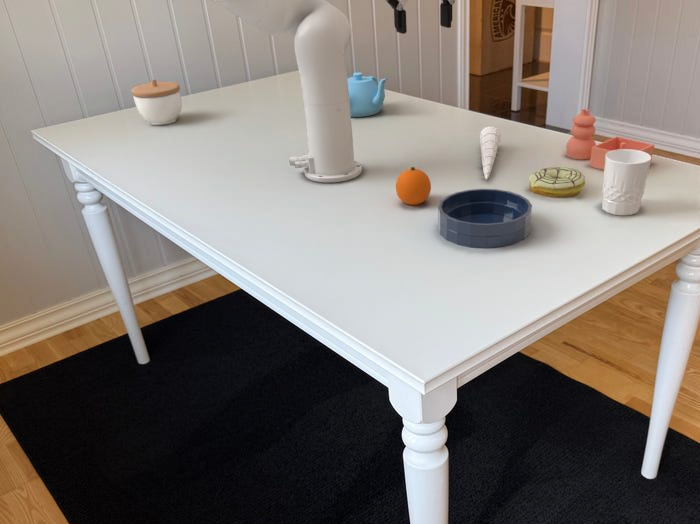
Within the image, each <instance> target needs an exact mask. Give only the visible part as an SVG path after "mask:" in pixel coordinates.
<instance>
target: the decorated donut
mask: <svg viewBox="0 0 700 524" xmlns="http://www.w3.org/2000/svg"><path fill="white" fill-rule="evenodd" d="M528 179H529V189H530V190H531V192H532V193H534V194H537V195H541V196H544V197H549V198H558V199H561V198H570V197H576V196H578V195H579V194H580V193H581V192H582V190H584V187H585V184H586V176H585V174H584V173H583V172H581V171H580V170H579V169H575V168H573V167H562V166H561V167H560V166H551V167H545V168H541V169H539V170H537V171H535V172H533V173H532V174H530V176H529V178H528Z"/></svg>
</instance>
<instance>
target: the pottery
mask: <svg viewBox="0 0 700 524" xmlns="http://www.w3.org/2000/svg"><path fill="white" fill-rule="evenodd" d="M596 122H597V120H596V117H595V116H594V115H592V114H590V109H587V108H584V109H581V111H580V113H579V114H576V115H574V117H573V118H572V123H573V125H572V126H571V129H570V134H571V135H572V137H570V139H569V140H568V141H567V142H566V146H565V151H566V156H567V157H568V158H570V159H574V160H589V159H590V161H589V167H591V168H595V169H599V170H603V171H604V168H605V156H606V154H607V153H608V152H610V151H613V150H619V149H632V150H639V151H643V152H646V153H648V154H649V155H650V156H651V162H650V166H651V165H652V163H653V156H652V155H653V154H654V150H655V144H653V143H648V142H645V141H640V140H636V139H630V138H626V137H621V136H618V135H617V136H614V137H612V138H609V139H607V140H604V141H603V142H600V143H597V142H596V140H595V139H594V138H593V136H594V135H595V133H596V127H595V126H594V124H595V123H596Z"/></svg>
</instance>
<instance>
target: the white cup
mask: <svg viewBox="0 0 700 524" xmlns="http://www.w3.org/2000/svg"><path fill="white" fill-rule="evenodd" d="M650 162H651V156H650V155H649V154H648V153H646V152H643V151H639V150H632V149H619V150H613V151H610V152H608V153H607V154H606V156H605V168H604V170H603V180H602V199H601V208H602V210H603V211H604V212H606V213H608V214H611V215H614V216H633V215H635V214H637V213H638V212H639V211H640V208H641V205H642V199H643V196H644V192H645V187H646V184H647V179H648V176H649V172H650V166H651V165H650ZM651 163H652V162H651Z"/></svg>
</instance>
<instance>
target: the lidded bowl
mask: <svg viewBox="0 0 700 524" xmlns="http://www.w3.org/2000/svg"><path fill="white" fill-rule="evenodd" d="M150 81H151V82H147V83H142V84H139V85H136V86H134V87H132V88H131V90H130V91H131V92H130V93H131V95H132V98H133V101H134V104H135V107H136V109H137V112H138V113H139V114H140V116H141V117H142V118H143V119H144V120H146V121H147V122H149V124H150V125H153V126H165V125H170V124H173V123H176V122H177V118H178V117H179V116H180V114H181V112H182V104H183V103H182V95H181V87H180V84H179V83H178V82H174V81H157V79H156V78H153V79H150Z"/></svg>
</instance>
